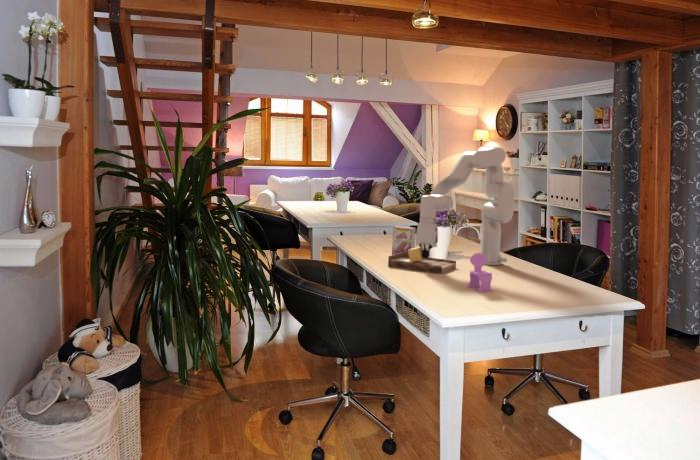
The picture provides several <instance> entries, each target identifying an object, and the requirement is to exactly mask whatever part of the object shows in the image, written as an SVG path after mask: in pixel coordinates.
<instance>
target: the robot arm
mask: <svg viewBox="0 0 700 460" xmlns="http://www.w3.org/2000/svg"><path fill="white" fill-rule="evenodd" d="M506 158H507V153H506V151H505V149H504V148H502V147H498V146H482V147H479V148H478V149H477V151H476V150H468V151H465V152H463V153H462V154H461V156H460V157H459V159H458V161H457V162H456V164H455V165H454V167H453V168H452V170H451V171H450V173H449V174H448V175H446V176H445V177H444V178H443V179H442V180H440V181H439V182H438V183H437V184H436V185H435V186H434V188H433V189H432V190H431V192H430V194H423V195H421V197H420V208H419V209H420V211H419V212H420V213H419V222H418V223H417V228H416V231H415V246H417V247H421V248H422V250H423V252H422V256H423V258H425V259H426V258H428V257H429V256H430V251H431V249H432V248H436V247H438V243H439V230H438V224H437V223H438V222H439V219H438V218H437V215H436V214H437V211H445V212H446V211H450V210H451V209H452V208H453V205H454V200H453V198H451V196H449V195H447V194H448V192H450V191H451V190H454V189H456V188H458V187H460V186H461V187H462V185H464V184H465V183H466V182H467V180H468V178H469V176H470V175H471V174H472V172H473V170H475V169H476V170H479V169H481V170H482V169H485V173H486V174H485V176H486V177H485V196H486V197H487V198H488V200H489V199H490V200H493V201H488V202H486V203H485V204H483V205H482V207H481V212H480V214H481V222H482V223H481V224H482V227H481V228H482V229H481V243H480V244H481V245H480V253H481V254H484V255H485V256H486V257H487V262H486V264H485V265H487V266H499V265H502V264H503V263H507V262H508V258H507V257H502V254H500V252H501V251H500V250H501V238H502V227H501V223H502V224H507V223H509V222H511V220H512V219H513V216H514V211H515V199H516V198H515V195H516V194H515V193H516V192H515V188H514V186H513V185H512V184H511V183H509V182H508V181H504V168H503V165H502V164H503V163H504V162H505V160H506ZM494 201H496V202H494ZM429 258H430V257H429ZM485 265H484V266H485Z"/></svg>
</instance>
